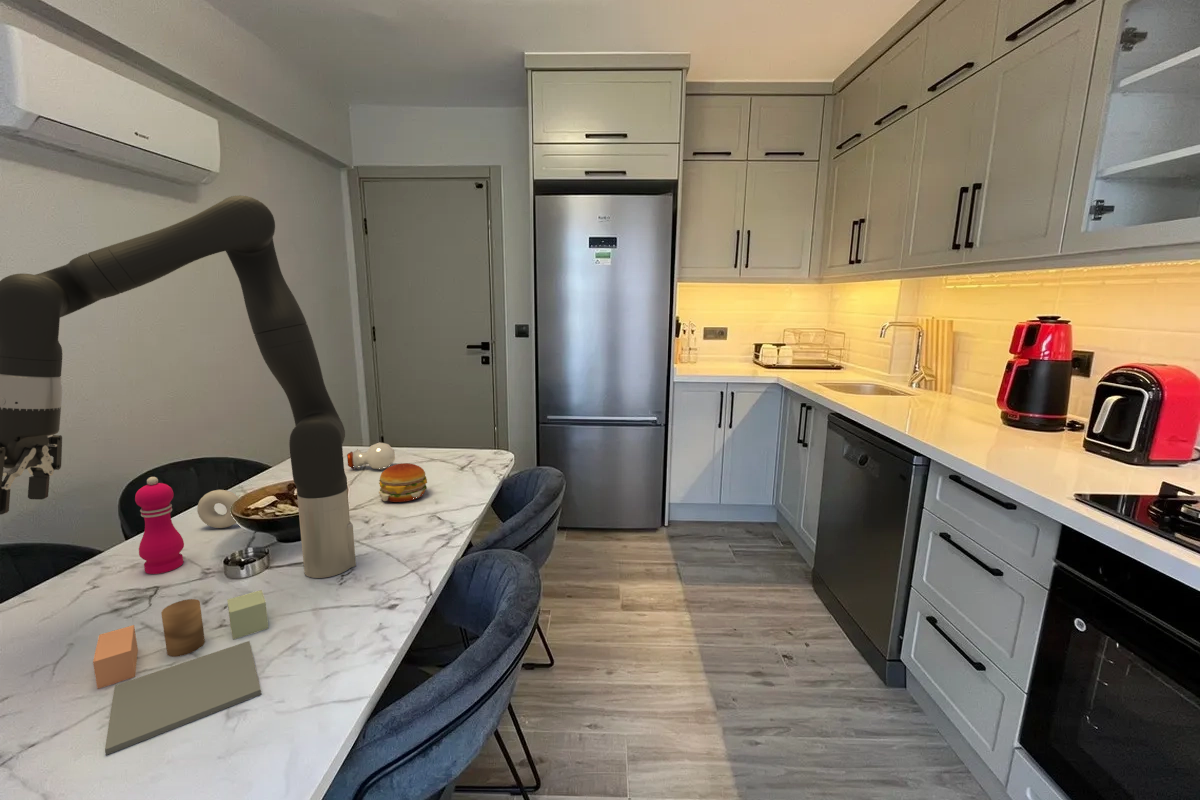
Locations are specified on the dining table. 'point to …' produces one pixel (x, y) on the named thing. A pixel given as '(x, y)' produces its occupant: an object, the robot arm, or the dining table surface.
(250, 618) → the sage cube
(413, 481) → the burger
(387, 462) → the potion bottle
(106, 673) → the terracotta brick
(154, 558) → the pepper mill
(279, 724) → the dining table surface
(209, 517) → the donut
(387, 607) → the dining table surface
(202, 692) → the slate mat
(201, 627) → the walnut cylinder
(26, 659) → the dining table surface
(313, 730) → the dining table surface
